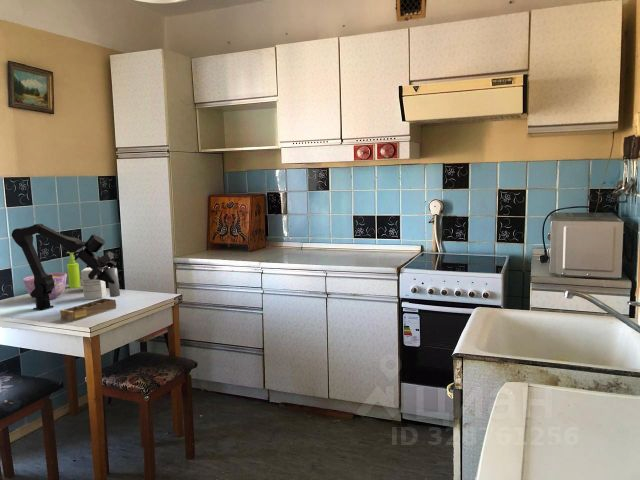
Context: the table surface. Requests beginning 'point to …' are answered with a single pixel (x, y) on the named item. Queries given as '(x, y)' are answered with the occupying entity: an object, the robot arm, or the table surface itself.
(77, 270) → the soap dispenser
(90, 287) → the supplement box
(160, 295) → the table surface
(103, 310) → the rack
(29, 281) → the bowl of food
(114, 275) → the plug
